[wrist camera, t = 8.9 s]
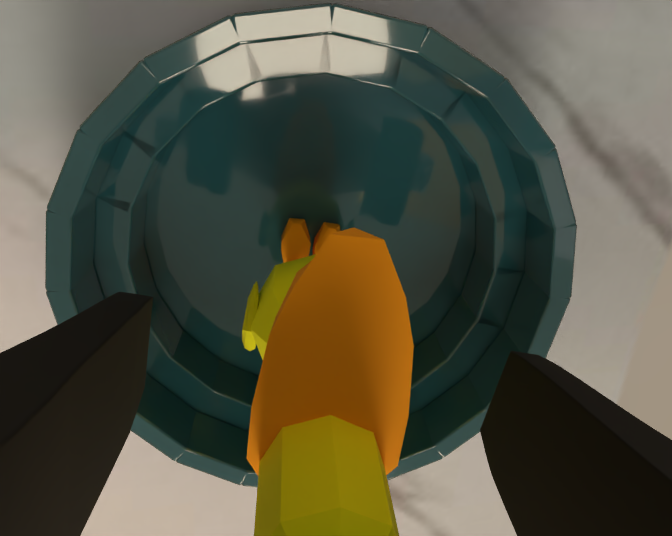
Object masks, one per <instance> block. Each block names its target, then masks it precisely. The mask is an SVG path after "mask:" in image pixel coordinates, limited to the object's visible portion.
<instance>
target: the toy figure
mask: <svg viewBox="0 0 672 536" xmlns="http://www.w3.org/2000/svg"><path fill="white" fill-rule="evenodd" d="M310 246H311V242H310V235H309V232H308V229H307V226H306V223H305V219H297V218H289V220H288V222H287V224H286V227H285V229H284V231H283V234H282V238H281V254H282V259H283V263H282V264H278V265H275V266H274V268H273V270H272V272H271V273H270V275H269V277H268V278H267V280H266V282H265V284H264V285H263V287H262V289H261V291H260V292H259V290H258V283H257V281H256V282H255V284H254V285H253V288H252V290H251V292H250V295H249V297H248V301H247V307H246V312H245V317H244V323H243V328H242V342H243V345H244V348H245V349H247V350H249V351H252V350H254V349H255V347H256V344H257V347H258V350H259V352H260V355H261V357H262V360H263V362H262V366H261V370H260V374H259V378H258V382H257V386H256V390H255V394H254V398H253V402H252V407H251V416H250V427H249V437H248V447H247V458H246V459H247V460H248V462H249V463H250V465H251V466H252V468H253V469H254V471H255V472H256V474H257V475H258V489H257V503H256V516H255V530H254V536H399V533H398V528H397V524H396V519H395V514H394V510H393V505H392V500H391V495H390V491H389V486H388V481H387V477H386V475H388V474H389V473H390V472H391V471H392V470H394V469H395V468H396V467H397V466H398V462H399V458H400V453H401V448H402V444H403V439H404V435H405V430H406V426H407V421H408V417H409V404H410V390H411V377H412V364H413V351H414V345H413V338H412V332H411V326H410V320H409V313H408V307H407V301H406V296H405V294H404V291H403V288H402V286H401V283H400V280H399V278H398V275H397V272H396V270H395V267H394V264H393V262H392V259H391V256H390V254H389V251H388V248H387V246H386V243H385V240H384V239H381V238H379V237H376V236H374V235H371V234H369V233H367V232H364V231H362V230H359V229H357V228H350V229H346V230H343V231H341V230H340V225H339V224H334V223H327V222H324V223H323V224H322V226H321V228H320V230H319V231H318V233H317V235H316V236H315V238H314V243H313V249H312V250H313V255H311V256H309V252H310Z"/></svg>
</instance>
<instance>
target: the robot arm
mask: <svg viewBox="0 0 672 536" xmlns="http://www.w3.org/2000/svg"><path fill="white" fill-rule="evenodd" d="M152 302H153V296H146V295H139V294H133V293H126V292H117V293H115V294H113V295H111V296H109V297H108V298H106V299H104V300H102V301H100V302H99V303H97V304H95V305H93V306H91V307H90V308H88V309H86V310H84V311H83V312H81V313H79V314H77V315H75V316H73V317H72V318H70V319H68V320H66V321H64V322H62V323H60V324H59V325H57V326H55V327H53V328H51V329H49V330H47V331H46V332H44V333H41V334H39V335H37V336H35V337H33V338H31V339H29V340H27V341H25V342H23V343H20V344H18V345H16V346H14V347H12V348H10V349H8V350H6V351H4V352H2V353H0V536H80V535H81V533H82V531H83V529H84V527H85V525H86V523H87V520H88V518H89V516H90V514H91V512H92V510H93V508H94V506H95V504H96V502H97V500H98V498H99V496H100V494H101V492H102V489H103V487H104V485H105V483H106V481H107V479H108V477H109V475H110V473H111V471H112V469H113V467H114V465H115V463H116V460H117V458H118V456H119V454H120V452H121V450H122V448H123V446H124V444H125V441H126V439H127V437H128V435H129V433H130V430H131V427H132V424H133V421H134V418H135V415H136V413H137V409H138V406H139V403H140V400H141V397H142V394H143V391H144V388H145V379H146V368H147V357H148V346H149V335H150V324H151V313H152ZM480 432H481V436H482V440H483V444H484V448H485V452H486V456H487V460H488V463H489V467H490V470H491V474H492V476H493V479H494V481H495V484H496V486H497V489H498V491H499V494H500V496H501V498H502V501H503V503H504V506H505V508H506V511H507V513H508V515H509V518H510V520H511V522H512V525H513V527H514V529H515V532H516V534H517V536H672V440H670V439H669V438H668V437H666V436H664V435H663V434H661V433H660V432H658V431H656V430H655V429H653V428H652V427H650V426H648V425H647V424H645V423H644V422H642V421H640V420H639V419H638V418H636V417H635V416H633V415H632V414H630V413H629V412H627V411H625V410H624V409H623V408H621V407H620V406H618V405H617V404H615V403H614V402H612V401H611V400H609V399H608V398H606V397H605V396H603V395H602V394H600V393H599V392H597V391H596V390H595V389H593V388H592V387H590V386H589V385H587V384H586V383H584V382H583V381H581V380H580V379H578V378H577V377H575V376H574V375H572V374H570V373H569V372H567V371H566V370H564V369H563V368H561V367H559V366H558V365H556V364H554V363H553V362H551V361H549V360H547V359H545V358H543V357H541V356H539V355H536V354H529V353H522V352H516V351H510V354H509V356H508V359H507V361H506V364H505V366H504V369H503V372H502V374H501V377H500V379H499V382H498V385H497V387H496V390H495V392H494V395H493V397H492V400H491V403H490V405H489V408H488V410H487V413H486V415H485V418H484V421H483V423H482V426H481V428H480Z"/></svg>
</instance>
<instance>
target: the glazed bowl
mask: <svg viewBox="0 0 672 536" xmlns="http://www.w3.org/2000/svg"><path fill="white" fill-rule="evenodd" d="M47 209H48V210H47V211H46V282H45V288H46V290H47V291H46V294H47V297H48V299H49V302H50V305H51V308H52V310H53V313H54V316H55V319H56V322H57V324H58V325H59V324H60V323H62V322H64V321H66V320H68V319H70V318H72V317H73V316H75V315H77V314H79V313H81V312H83V311H84V310H86V309H88V308H90V307H91V306H93V305H95V304H97V303H99V302H100V301H102V300H104V299H106V298H108V297H109V296H111V295H113V294H115V293H117V292H126V293H133V294H139V295H146V296H153V302H152V313H151V324H150V335H149V346H148V357H147V368H146V379H145V388H144V391H143V394H142V397H141V400H140V403H139V406H138V409H137V413H136V415H135V418H134V421H133V424H132V427H131V431H132V432H134V433H135V434H136V435H138V436H139V437H141V438H142V439H144V440H145V441H146V442H148V443H149V444H151V445H152V446H154V447H155V448H156V449H158V450H159V451H161V452H162V453H164V454H165V455H166V456H168V457H169V458H171V459H172V460H174V461H176V462H177V463H180V464H183V465H186V466H188V467H191V468H194V469H197V470H199V471H202V472H205V473H208V474H210V475H213V476H216V477H219V478H221V479H224V480H227V481H230V482H232V483H235V484H238V485H241V484H242V485H243V486H249V487H258V475H257V474H256V472H255V471H254V469H253V468H252V466H251V465H250V463H249V462H248V460H247V459H246V458H247V447H248V437H249V427H250V416H251V407H252V402H253V398H254V394H255V390H256V386H257V382H258V378H259V374H260V370H261V366H262V362H263V360H262V357H261V355H260V352H259V350H258V347H257V344H256V347H255V349H254V350H252V351H249V350H247V349H245V348H244V345H243V342H242V328H243V323H244V317H245V312H246V307H247V301H248V297H249V295H250V292H251V290H252V288H253V285H254V284H255V282H256V281H257V283H258V290H259V292H260V291H261V289H262V287H263V285H264V284H265V282H266V280H267V278H268V277H269V275H270V273H271V272H272V270H273V268H274V266H275V265H278V264H282V263H283V259H282V254H281V238H282V234H283V231H284V229H285V227H286V224H287V222H288V220H289V218H297V219H305V223H306V226H307V229H308V232H309V235H310V242H311V246H310V252H309V256H311V255H313V250H312V249H313V243H314V238H315V236H316V235H317V233H318V231H319V230H320V228H321V226H322V224H323V223H324V222H327V223H334V224H339V225H340V230H341V231H343V230H346V229H350V228H357V229H359V230H362V231H364V232H367V233H369V234H371V235H374V236H376V237H379V238H381V239H384V240H385V243H386V246H387V248H388V251H389V254H390V256H391V259H392V262H393V264H394V267H395V270H396V272H397V275H398V278H399V280H400V283H401V286H402V288H403V291H404V294H405V296H406V301H407V307H408V313H409V320H410V326H411V332H412V338H413V345H414V351H413V364H412V377H411V390H410V404H409V417H408V421H407V426H406V430H405V435H404V439H403V444H402V448H401V453H400V458H399V462H398V466H397V467H396V468H395V469H394V470H392V471H391V472H390V473H389V474H388V475H386V477H387V480H390V479H392V478H395V477H397V476H400V475H402V474H405V473H407V472H410V471H412V470H415V469H418V468H420V467H423V466H425V465H428V464H430V463H433V462H435V461H438V460H440V459H442V457H445V456H447V455H448V454H450V453H451V452H452V451H454V450H455V449H457V448H458V447H459V446H461V445H462V444H464V443H465V442H466V441H468V440H469V439H470V438H472V437H473V436H475V435H476V434H477V433H479V432H480V428H481V426H482V423H483V421H484V418H485V415H486V413H487V410H488V408H489V405H490V403H491V400H492V397H493V395H494V392H495V390H496V387H497V385H498V382H499V379H500V377H501V374H502V372H503V369H504V366H505V364H506V361H507V359H508V356H509V354H510V351H516V352H522V353H529V354H536V355H539V356H541V357H543V358H545V359H546V356H547V354H548V351H549V349H550V347H551V344H552V342H553V339H554V337H555V335H556V332H557V330H558V327H559V325H560V323H561V320H562V318H563V316H564V313H565V311H566V308H567V306H568V304H569V301H570V297H571V293H572V280H573V267H574V254H575V242H576V229H577V225H576V224H575V223H576V219H575V216H574V212H573V208H572V205H571V201H570V197H569V194H568V190H567V186H566V183H565V179H564V175H563V172H562V168H561V164H560V161H559V157H558V153H557V150H556V148H555V145H554V143H553V142H552V140H551V139H550V138H549V136H548V135H547V133H546V132H545V131H544V129H543V128H542V126H541V125H540V124H539V122H538V121H537V119H536V118H535V117H534V115H533V114H532V113H531V111H530V110H529V108H528V107H527V106H526V104H525V103H524V101H523V100H522V99H521V97H520V96H519V94H518V93H517V92H516V90H515V89H514V87H513V86H512V85H511V83H510V82H509V80H508V79H506V78H504V76H503V75H502V74H500V73H499V72H497V71H496V70H494V69H493V68H491V67H490V66H488V65H487V64H485V63H484V62H482V61H481V60H479V59H478V58H476V57H475V56H473V55H472V54H470V53H469V52H467V51H466V50H464V49H463V48H461V47H460V46H458V45H457V44H455V43H454V42H452V41H451V40H449V39H448V38H446V37H445V36H443V35H442V34H440V33H439V32H437V31H436V30H434V29H433V28H431V27H427V26H426V25H424V24H420V23H416V22H411V21H407V20H403V19H399V18H395V17H391V16H386V15H382V14H378V13H374V12H370V11H366V10H361V9H357V8H353V7H349V6H345V5H341V4H336V3H335V4H331V3H323V4H314V5H306V6H297V7H288V8H279V9H270V10H262V11H253V12H244V13H235V14H233V15H232V16H226V17H224V18H222V19H220V20H218V21H216V22H214V23H212V24H210V25H208V26H206V27H204V28H202V29H200V30H198V31H196V32H194V33H192V34H190V35H188V36H186V37H184V38H182V39H180V40H178V41H176V42H174V43H172V44H170V45H168V46H166V47H164V48H162V49H160V50H158V51H156V52H154V53H152V54H150V55H148V56H146V57H145V58H144V60H142V61H139V62H138V64H137V65H136V66H135V67H134V68H133V69H132V70H131V71H130V72H129V73H128V74H127V75H126V77H125V78H124V79H123V80H122V81H121V82H120V83H119V84H118V85H117V86H116V87H115V88H114V90H113V91H112V92H111V93H110V94H109V95H108V96H107V97H106V98H105V99H104V100H103V101H102V103H101V104H100V105H99V106H98V107H97V108H96V109H95V110H94V111H93V112H92V113H91V114H90V115H89V117H88V118H87V119H86V120H85V121H84V122H83V123H82V124H81V125H80V129H78V130H77V132H76V134H75V137H74V139H73V142H72V145H71V147H70V150H69V152H68V155H67V157H66V160H65V162H64V165H63V167H62V170H61V172H60V175H59V177H58V180H57V182H56V185H55V188H54V190H53V193H52V195H51V198H50V200H49V203H48V205H47Z"/></svg>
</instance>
